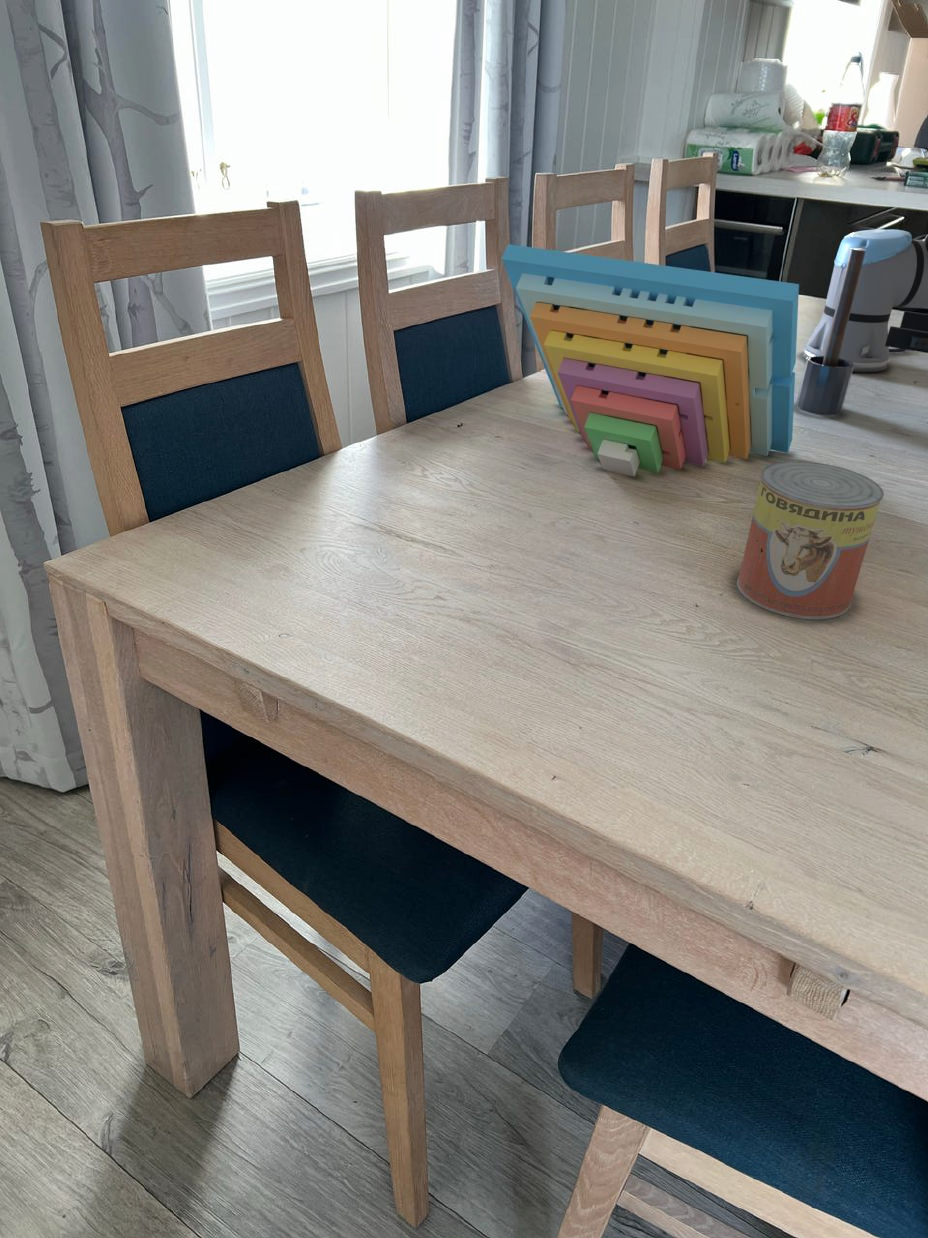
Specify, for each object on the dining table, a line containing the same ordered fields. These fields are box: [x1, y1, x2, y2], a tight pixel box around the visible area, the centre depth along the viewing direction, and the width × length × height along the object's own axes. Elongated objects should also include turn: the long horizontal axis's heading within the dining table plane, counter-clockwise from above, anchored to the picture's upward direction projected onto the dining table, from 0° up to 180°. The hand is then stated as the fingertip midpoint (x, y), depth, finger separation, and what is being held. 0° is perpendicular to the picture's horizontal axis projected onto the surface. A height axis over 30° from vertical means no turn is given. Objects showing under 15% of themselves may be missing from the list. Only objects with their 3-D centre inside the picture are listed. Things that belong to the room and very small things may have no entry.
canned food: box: [736, 460, 885, 621], centre depth 93 cm, size 11×11×12 cm
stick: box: [822, 248, 866, 367], centre depth 145 cm, size 2×2×24 cm
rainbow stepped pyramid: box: [501, 243, 800, 478], centre depth 123 cm, size 35×18×35 cm
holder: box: [795, 356, 854, 416], centre depth 149 cm, size 7×7×8 cm
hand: (894, 327), depth 141 cm, fingers open, 13 cm apart
